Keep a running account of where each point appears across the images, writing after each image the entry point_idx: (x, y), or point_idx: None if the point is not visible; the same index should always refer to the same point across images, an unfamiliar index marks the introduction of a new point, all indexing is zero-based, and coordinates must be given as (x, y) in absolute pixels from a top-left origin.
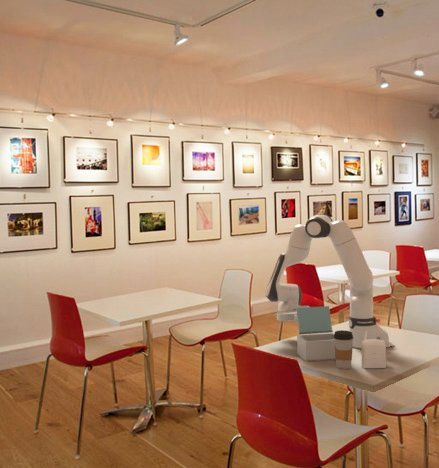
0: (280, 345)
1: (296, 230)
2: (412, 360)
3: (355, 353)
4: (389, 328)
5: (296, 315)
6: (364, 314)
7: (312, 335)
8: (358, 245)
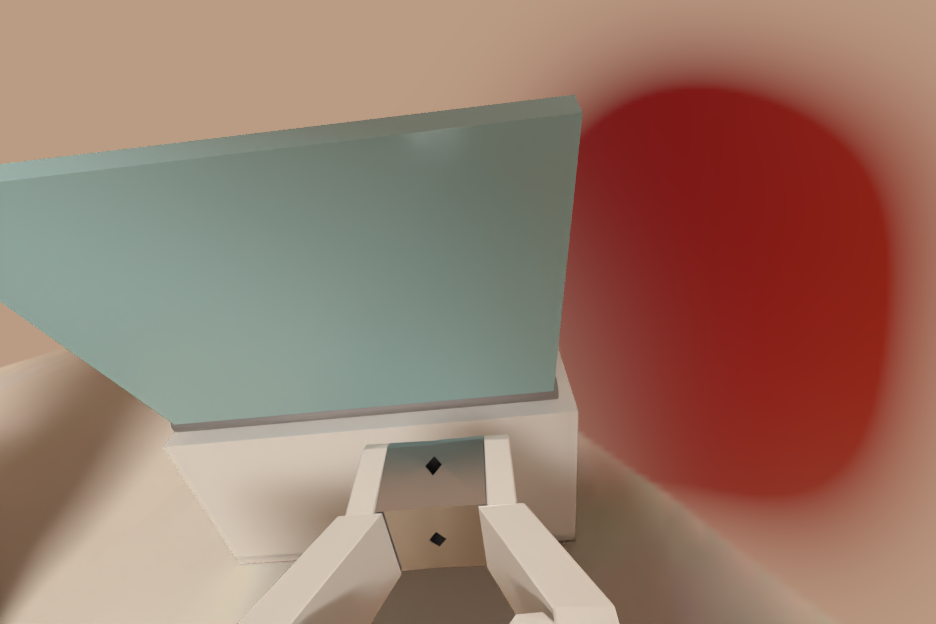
0: None
1: None
2: (58, 367)
3: (151, 488)
4: None
5: (526, 616)
6: None
7: (413, 412)
8: None
